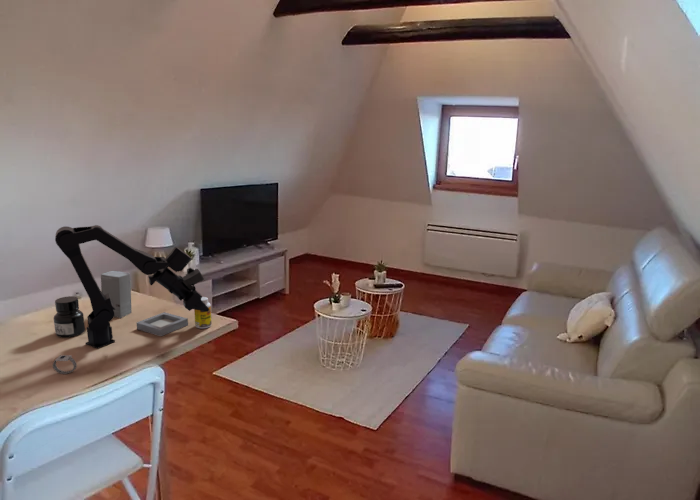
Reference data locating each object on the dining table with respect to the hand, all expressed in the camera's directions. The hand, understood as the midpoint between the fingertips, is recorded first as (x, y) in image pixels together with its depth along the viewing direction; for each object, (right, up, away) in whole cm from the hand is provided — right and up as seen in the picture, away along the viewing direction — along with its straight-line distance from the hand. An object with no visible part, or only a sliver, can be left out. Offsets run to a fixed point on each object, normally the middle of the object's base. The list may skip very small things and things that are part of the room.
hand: (206, 307), depth 186 cm
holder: (-15, -7, 0) cm, 17 cm away
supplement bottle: (-1, -7, +1) cm, 7 cm away
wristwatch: (-31, -15, -34) cm, 48 cm away
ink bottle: (-44, -8, -6) cm, 45 cm away
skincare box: (-36, -4, +12) cm, 38 cm away
